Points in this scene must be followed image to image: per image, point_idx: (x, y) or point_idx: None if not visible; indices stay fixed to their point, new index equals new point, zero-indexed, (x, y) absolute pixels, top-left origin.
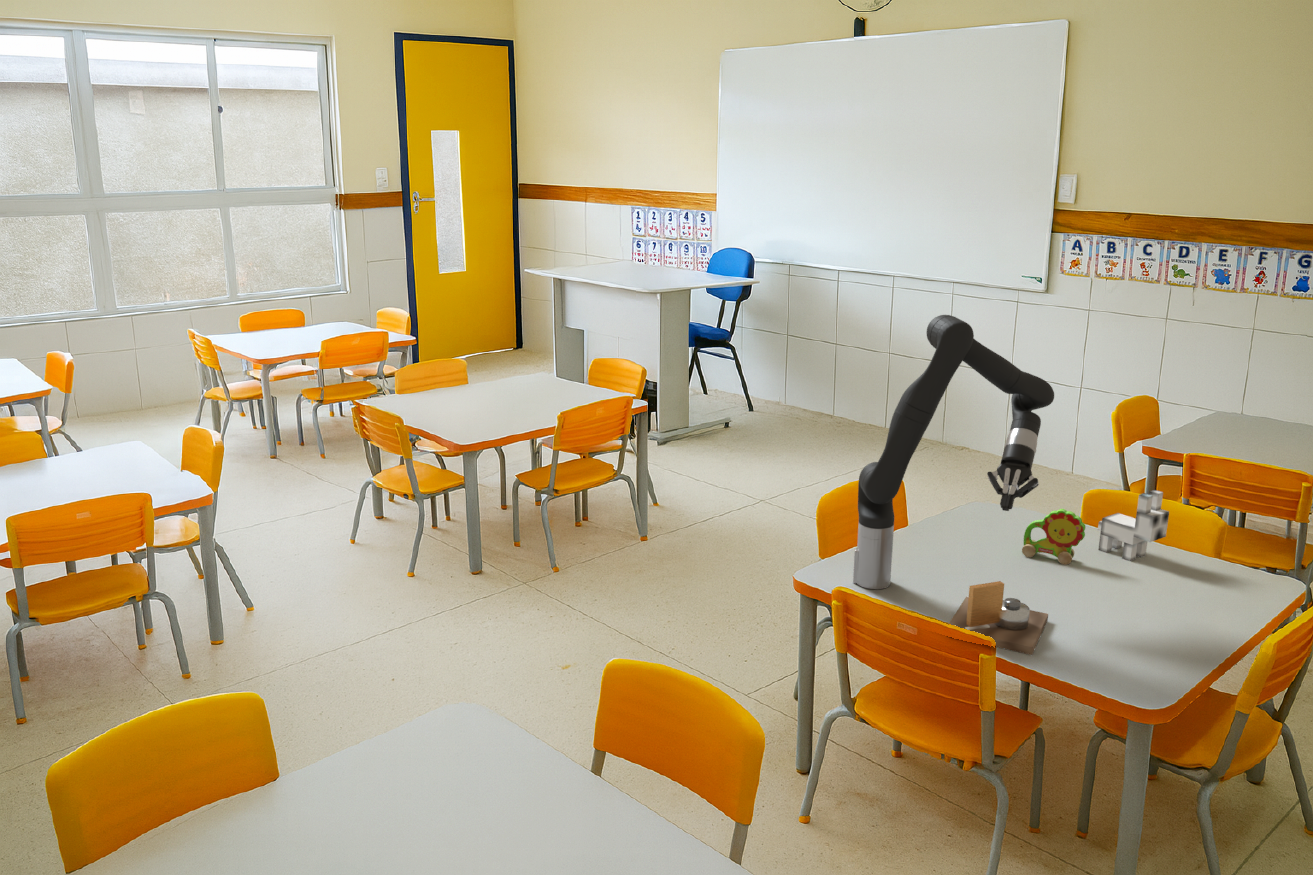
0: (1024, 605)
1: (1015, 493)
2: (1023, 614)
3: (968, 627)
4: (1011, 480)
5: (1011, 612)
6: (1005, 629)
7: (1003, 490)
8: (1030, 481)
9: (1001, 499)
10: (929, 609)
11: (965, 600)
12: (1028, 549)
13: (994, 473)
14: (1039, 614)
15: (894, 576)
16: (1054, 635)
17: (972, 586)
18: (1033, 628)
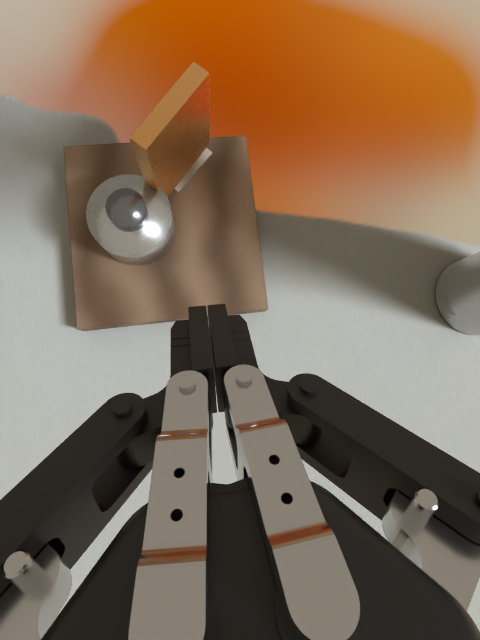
0: (105, 240)
1: (163, 402)
2: (94, 192)
3: (205, 155)
4: (230, 497)
5: (121, 184)
6: None
7: (259, 382)
8: (8, 542)
9: (248, 342)
10: (316, 239)
11: (261, 287)
12: None
13: (450, 553)
14: (94, 313)
15: (451, 358)
16: (52, 269)
17: (200, 72)
18: (86, 233)
